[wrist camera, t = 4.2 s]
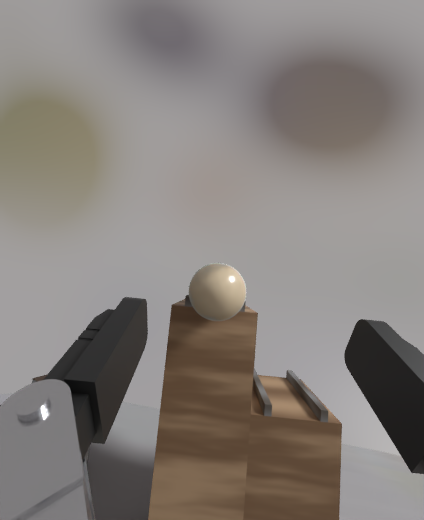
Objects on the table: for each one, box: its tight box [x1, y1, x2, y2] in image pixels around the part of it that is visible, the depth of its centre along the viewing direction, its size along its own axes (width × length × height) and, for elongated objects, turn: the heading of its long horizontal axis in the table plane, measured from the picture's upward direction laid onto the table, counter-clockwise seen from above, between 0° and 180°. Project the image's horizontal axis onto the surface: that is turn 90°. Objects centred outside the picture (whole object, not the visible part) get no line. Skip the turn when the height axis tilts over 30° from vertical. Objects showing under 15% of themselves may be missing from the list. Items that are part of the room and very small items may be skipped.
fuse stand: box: [148, 295, 342, 520], centre depth 31 cm, size 12×20×33 cm, turn 89°
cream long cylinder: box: [189, 263, 246, 321], centre depth 28 cm, size 20×4×4 cm, turn 179°
